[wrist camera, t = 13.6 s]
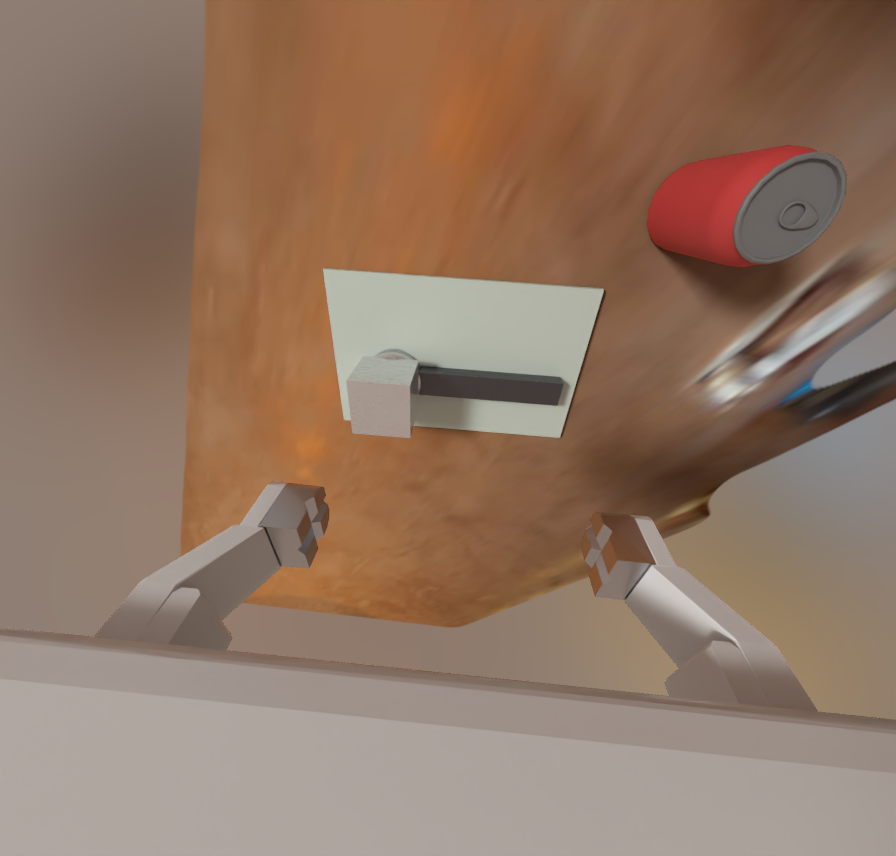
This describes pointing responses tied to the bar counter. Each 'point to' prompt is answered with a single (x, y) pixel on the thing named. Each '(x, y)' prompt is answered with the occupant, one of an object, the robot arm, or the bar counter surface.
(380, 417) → the grey box
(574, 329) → the mat
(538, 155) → the bar counter surface
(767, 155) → the beer can
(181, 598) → the robot arm
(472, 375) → the lever
